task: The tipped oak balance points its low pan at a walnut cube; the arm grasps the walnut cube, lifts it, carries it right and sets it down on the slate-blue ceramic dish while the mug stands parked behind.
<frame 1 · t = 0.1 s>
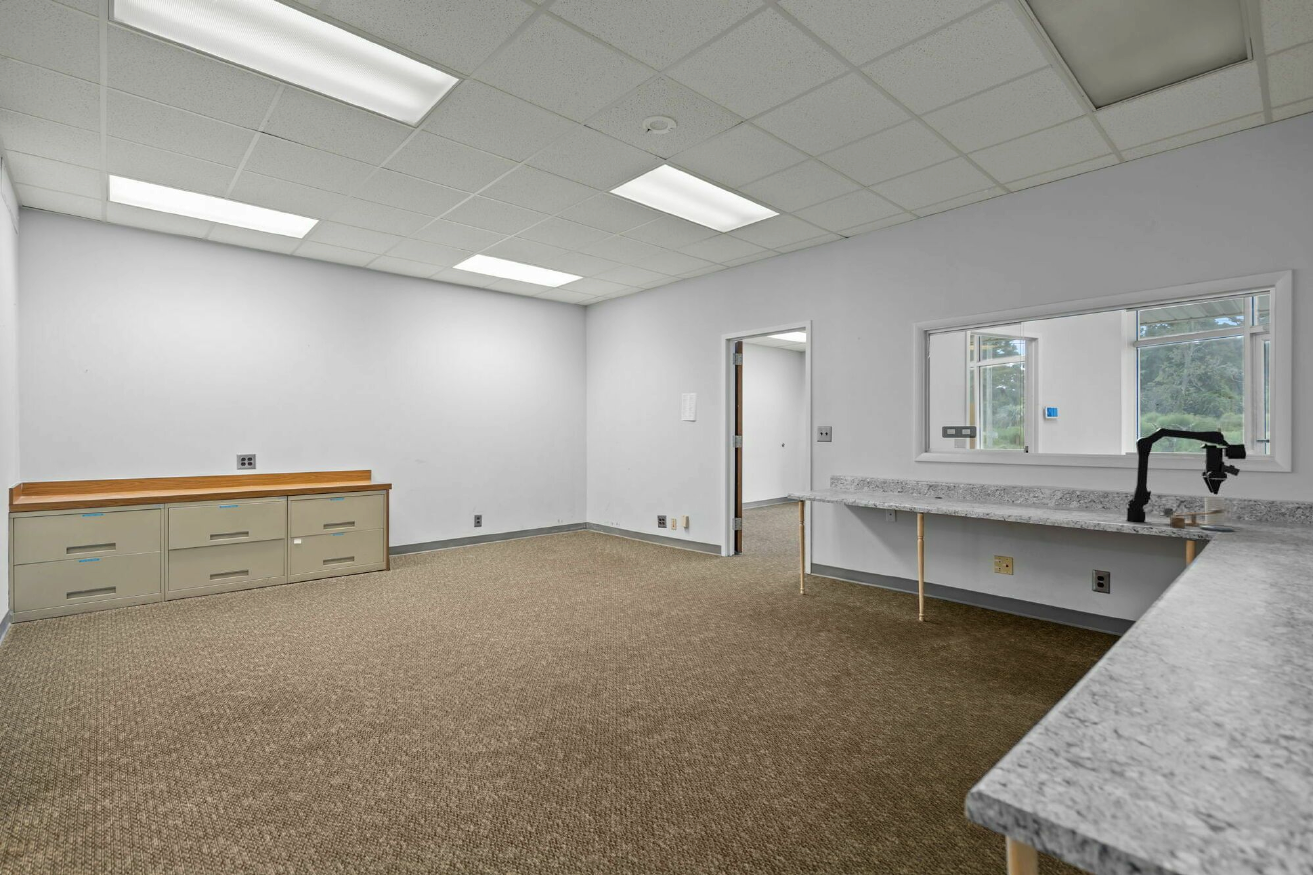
hand: (1213, 493, 284), 15 cm above the worktop, fingers open, 9 cm apart
block: (1177, 527, 281), on the worktop
balance: (1193, 525, 286), on the worktop
dish: (1216, 529, 273), on the worktop
mug: (1219, 525, 287), on the worktop
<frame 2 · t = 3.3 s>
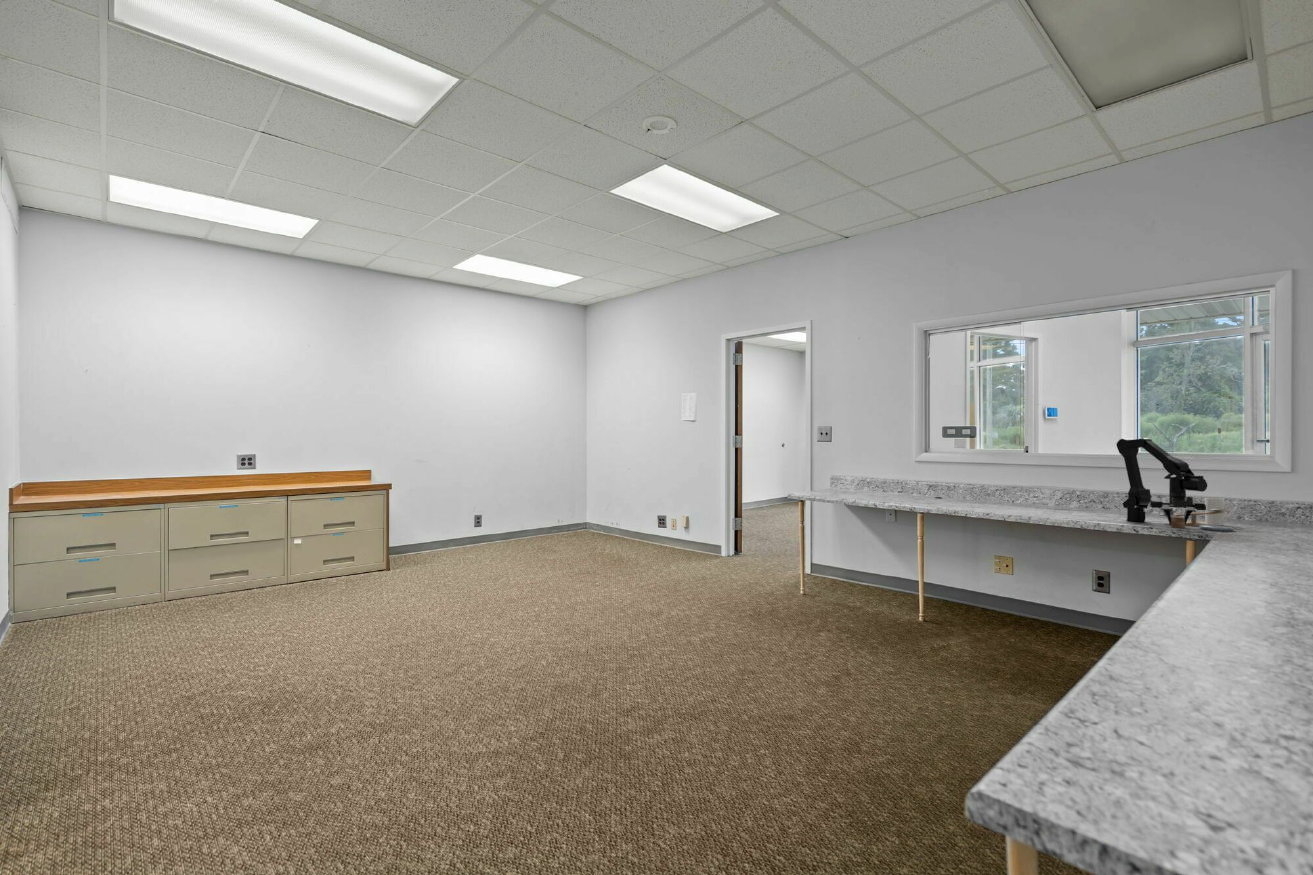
hand: (1177, 524, 281), 1 cm above the worktop, fingers closed on block, 4 cm apart
block: (1177, 527, 281), on the worktop, touching gripper
everything else where it was.
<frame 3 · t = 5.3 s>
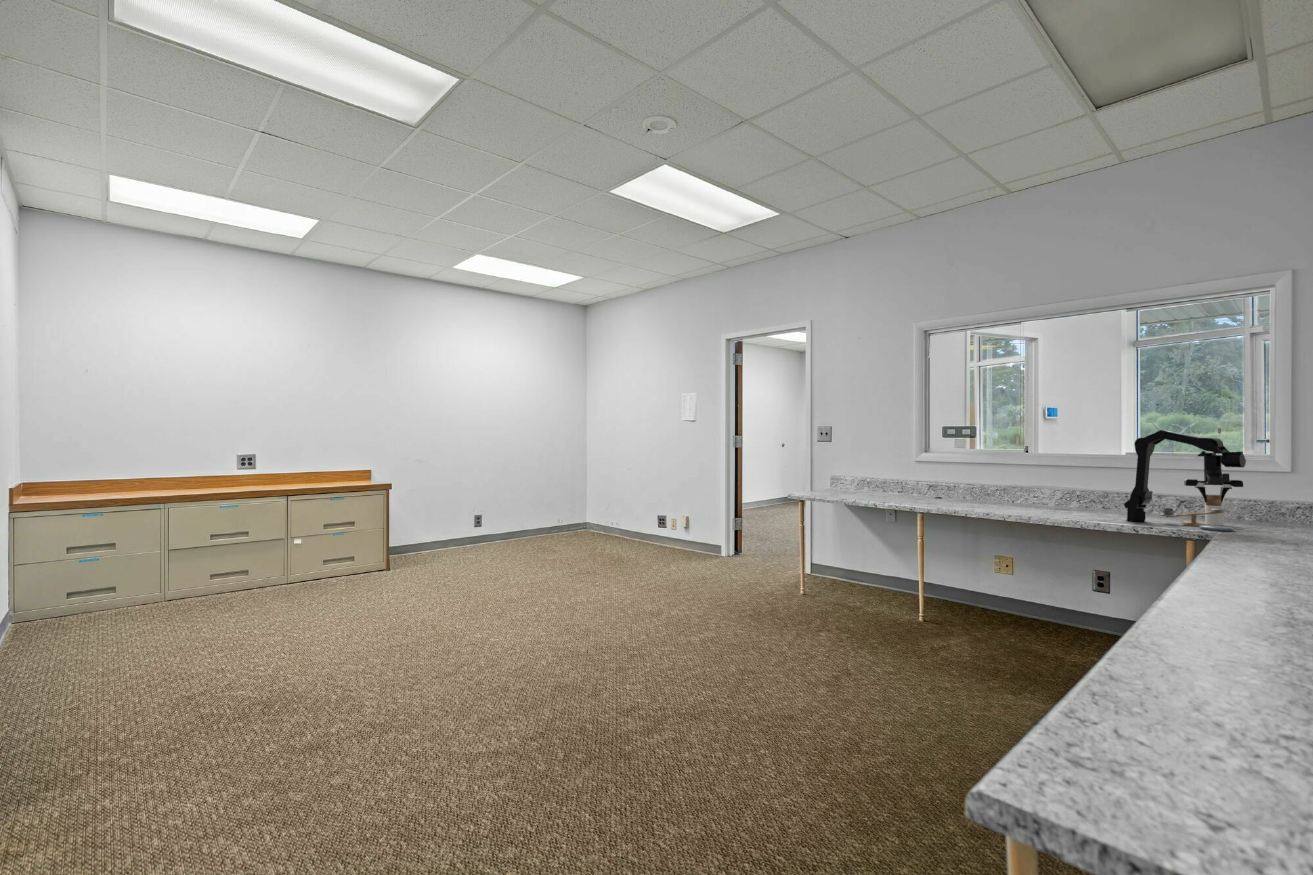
hand: (1213, 502, 273), 12 cm above the worktop, fingers closed on block, 4 cm apart
block: (1213, 505, 273), point 11 cm above the worktop, touching gripper
everything else where it was.
when the fingers open (4 cm above the worktop, at t = 7.5 s): block drops 1 cm, resting on dish.
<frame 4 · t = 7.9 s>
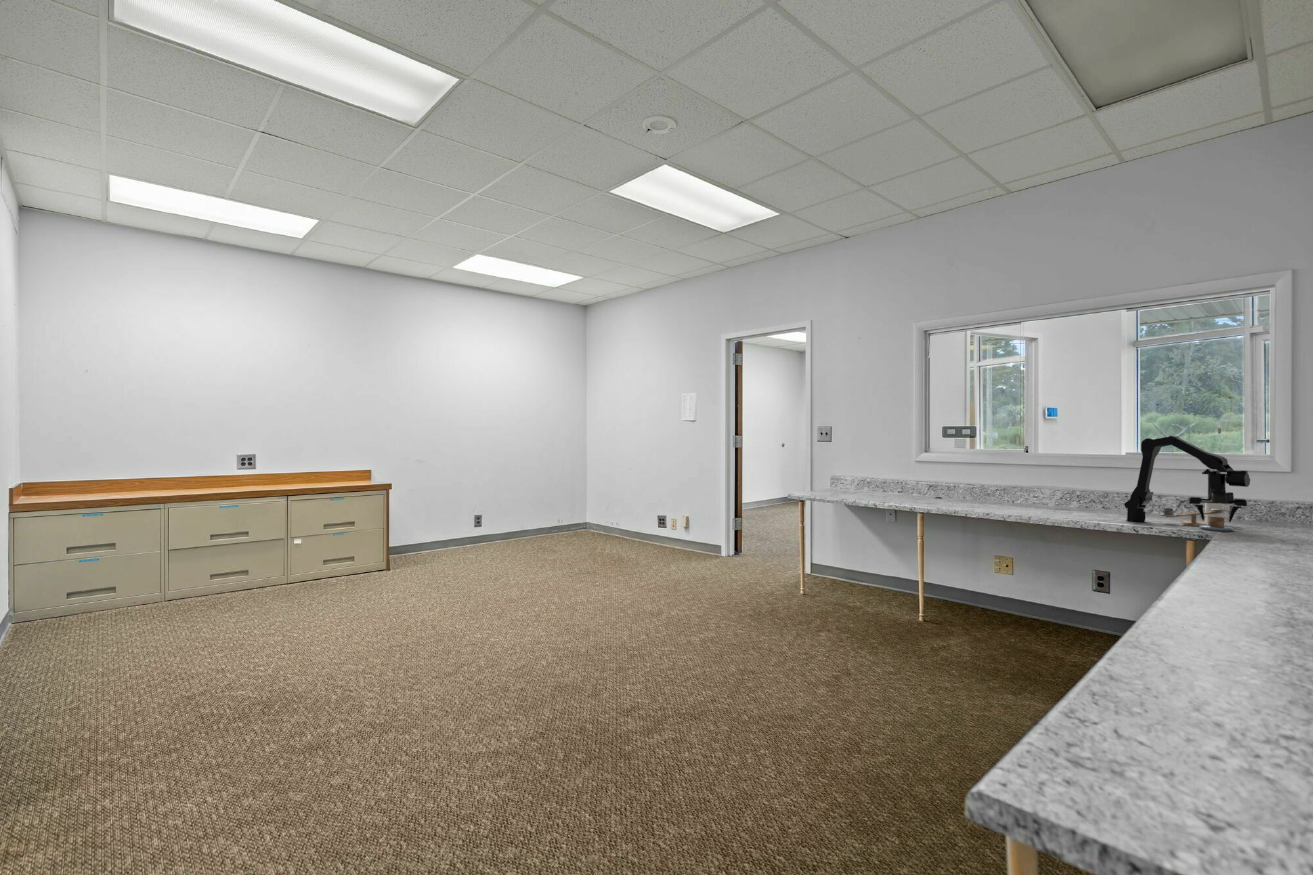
hand: (1216, 521, 273), 4 cm above the worktop, fingers open, 8 cm apart
block: (1216, 526, 273), point 1 cm above the worktop, touching dish
everything else where it was.
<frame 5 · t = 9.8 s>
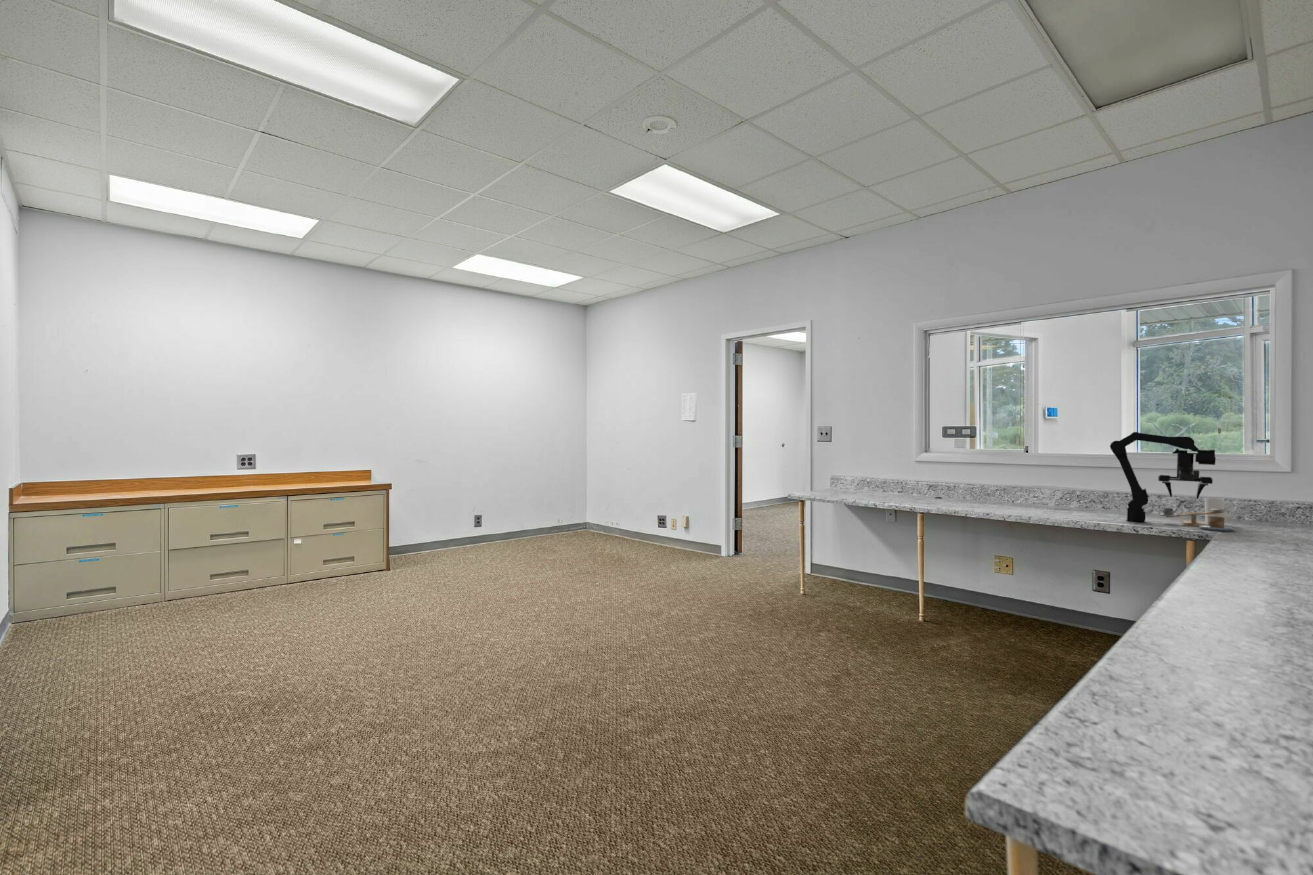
hand: (1183, 497, 288), 12 cm above the worktop, fingers open, 9 cm apart
nothing on the worktop moved.
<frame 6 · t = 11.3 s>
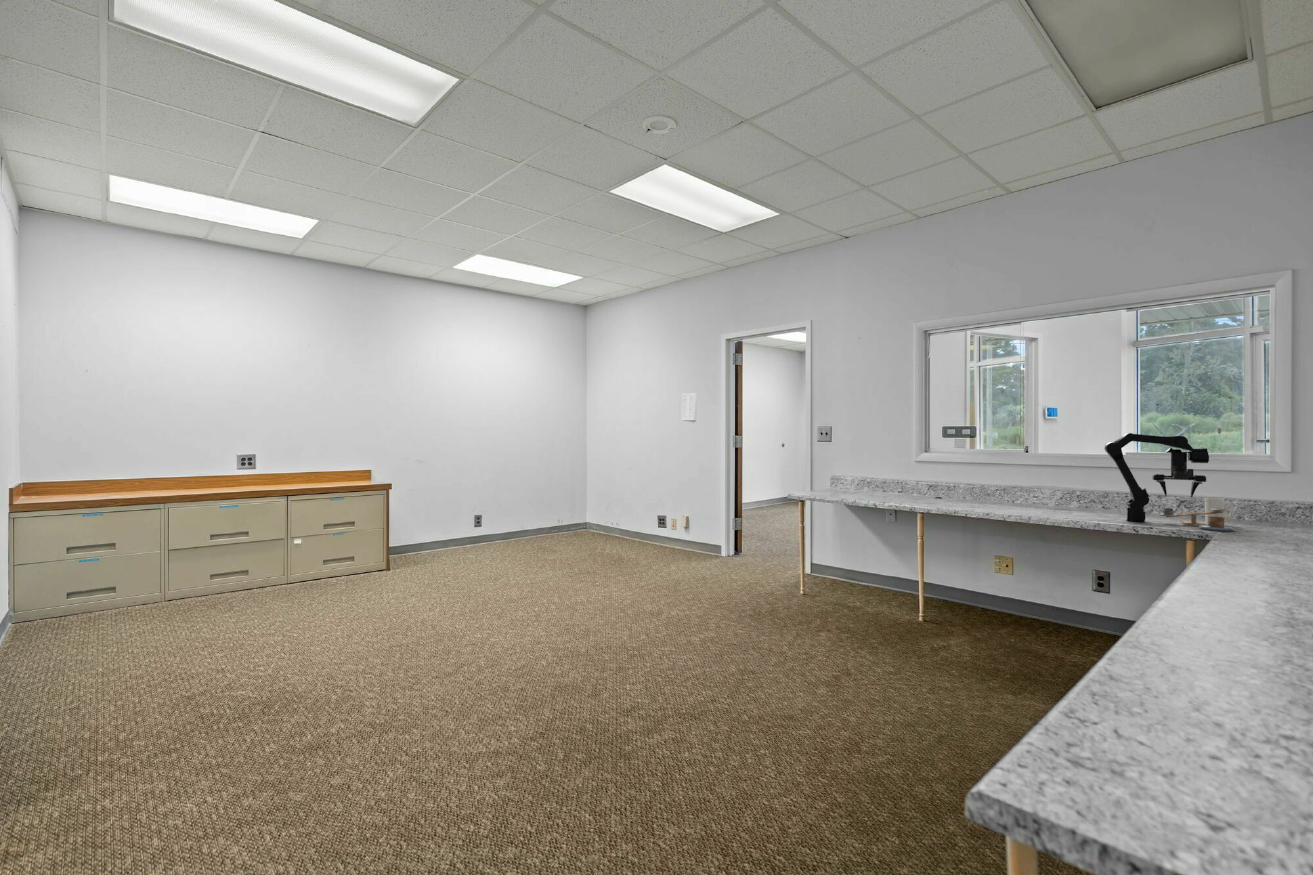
hand: (1178, 496, 291), 13 cm above the worktop, fingers open, 9 cm apart
nothing on the worktop moved.
at the end: block 0.1 cm from the dish (horizontally); block touching dish; block point 1.2 cm above the worktop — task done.
